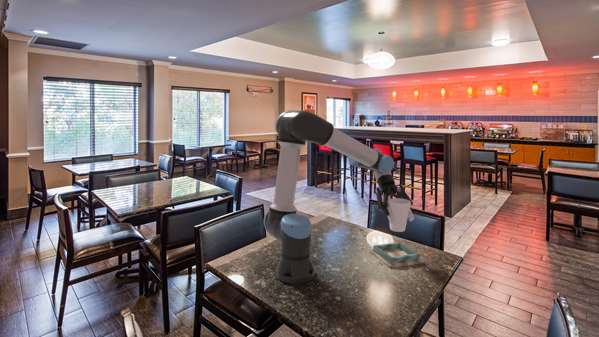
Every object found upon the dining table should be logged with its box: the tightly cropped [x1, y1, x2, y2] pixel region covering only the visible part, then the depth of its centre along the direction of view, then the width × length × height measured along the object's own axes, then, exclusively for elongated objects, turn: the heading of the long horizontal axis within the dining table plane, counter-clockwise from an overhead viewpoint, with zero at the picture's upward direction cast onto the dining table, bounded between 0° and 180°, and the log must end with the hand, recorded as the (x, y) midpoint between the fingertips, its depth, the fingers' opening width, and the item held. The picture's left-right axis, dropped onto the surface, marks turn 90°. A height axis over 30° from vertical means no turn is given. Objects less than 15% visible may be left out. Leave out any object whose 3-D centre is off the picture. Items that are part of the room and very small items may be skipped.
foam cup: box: [387, 197, 412, 233], centre depth 144 cm, size 10×9×13 cm
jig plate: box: [368, 241, 425, 269], centre depth 147 cm, size 17×17×4 cm
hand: (402, 221), depth 141 cm, fingers closed on foam cup, 9 cm apart
